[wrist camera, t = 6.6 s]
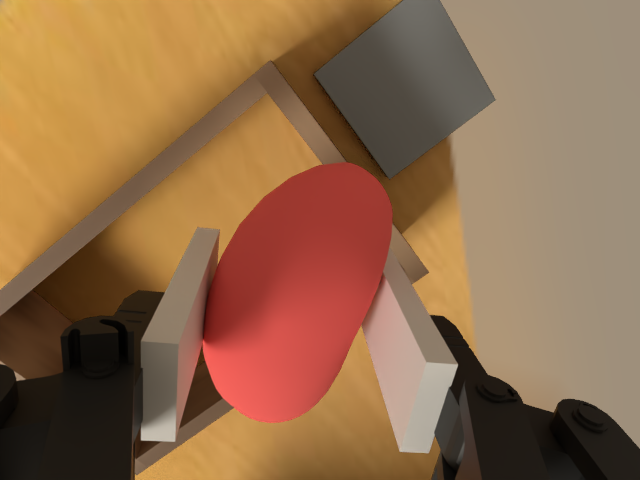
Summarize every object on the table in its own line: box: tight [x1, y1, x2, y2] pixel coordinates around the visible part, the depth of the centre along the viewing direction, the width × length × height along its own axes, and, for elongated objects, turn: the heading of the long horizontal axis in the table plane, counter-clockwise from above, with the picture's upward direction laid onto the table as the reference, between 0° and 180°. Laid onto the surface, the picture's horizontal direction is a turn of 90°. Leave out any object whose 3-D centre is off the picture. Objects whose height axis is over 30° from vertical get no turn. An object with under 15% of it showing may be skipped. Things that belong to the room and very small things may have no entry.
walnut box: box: [0, 61, 429, 475], centre depth 27 cm, size 14×23×6 cm, turn 127°
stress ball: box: [203, 162, 393, 423], centre depth 14 cm, size 5×9×6 cm
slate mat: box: [314, 0, 495, 179], centre depth 26 cm, size 8×8×1 cm
